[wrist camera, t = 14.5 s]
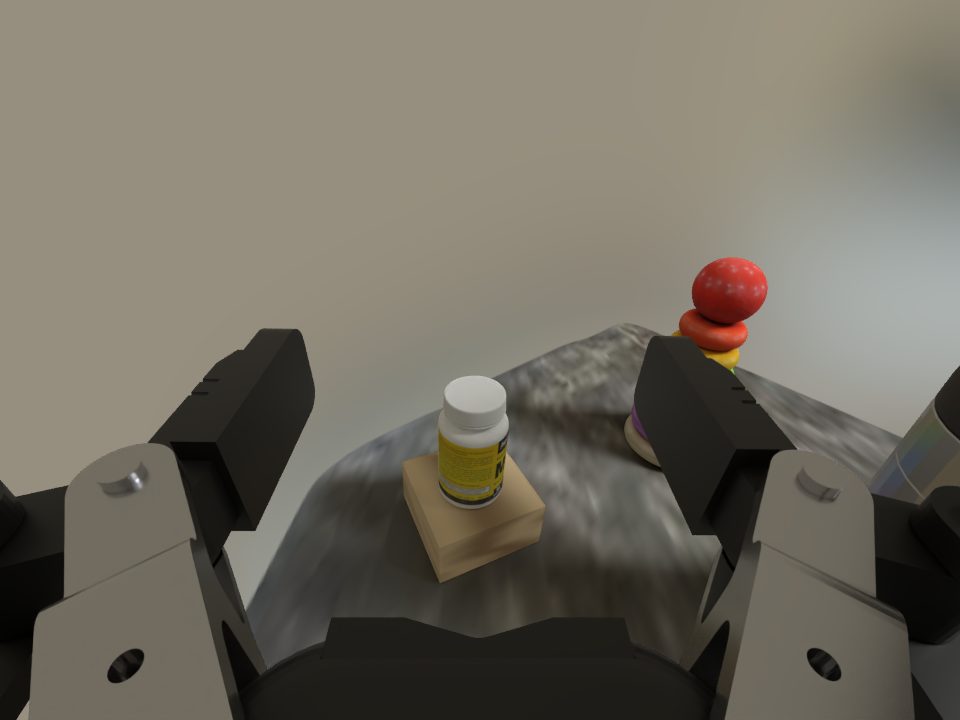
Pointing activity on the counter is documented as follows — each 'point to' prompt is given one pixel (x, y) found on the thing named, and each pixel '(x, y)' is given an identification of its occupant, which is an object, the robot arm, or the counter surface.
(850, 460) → the counter surface
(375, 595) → the counter surface
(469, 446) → the supplement bottle
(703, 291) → the stacking toy
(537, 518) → the oak block
